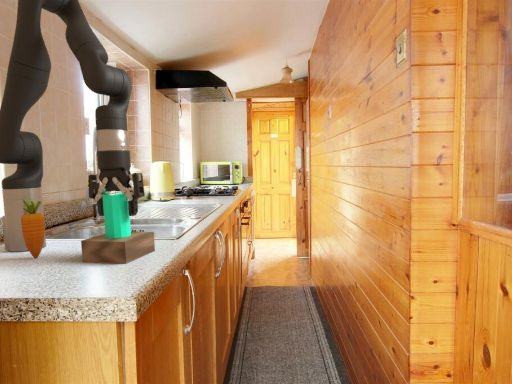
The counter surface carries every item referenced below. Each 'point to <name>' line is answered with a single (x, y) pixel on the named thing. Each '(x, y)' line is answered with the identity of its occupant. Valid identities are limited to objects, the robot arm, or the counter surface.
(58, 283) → the counter surface
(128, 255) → the walnut stand
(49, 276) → the counter surface
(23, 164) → the robot arm
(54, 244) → the counter surface
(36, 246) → the carrot
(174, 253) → the counter surface
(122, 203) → the candle
